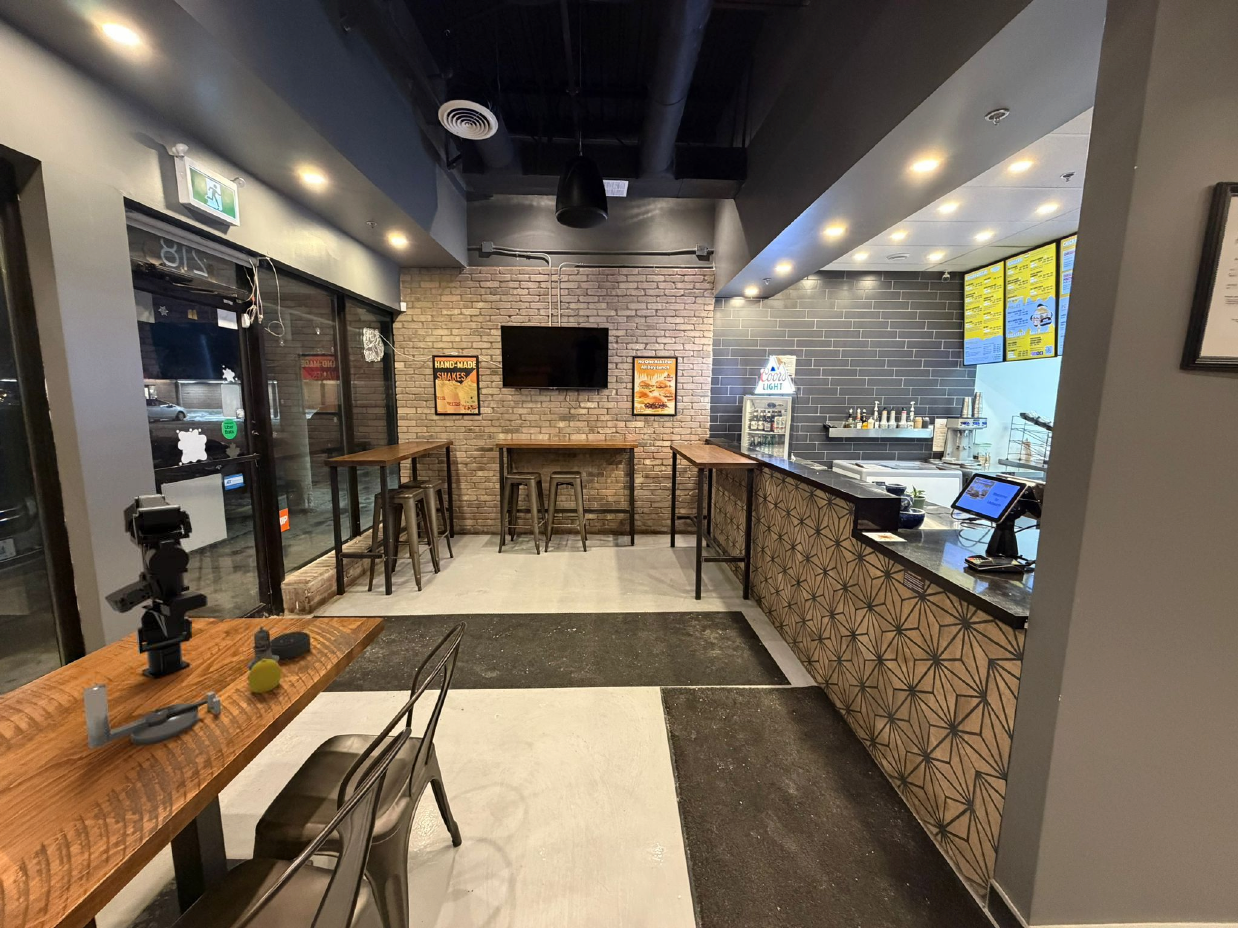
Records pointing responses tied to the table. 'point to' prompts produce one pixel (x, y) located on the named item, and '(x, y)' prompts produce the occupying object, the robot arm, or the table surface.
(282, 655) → the smart speaker
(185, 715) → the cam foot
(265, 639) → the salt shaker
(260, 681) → the lemon
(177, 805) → the table surface
